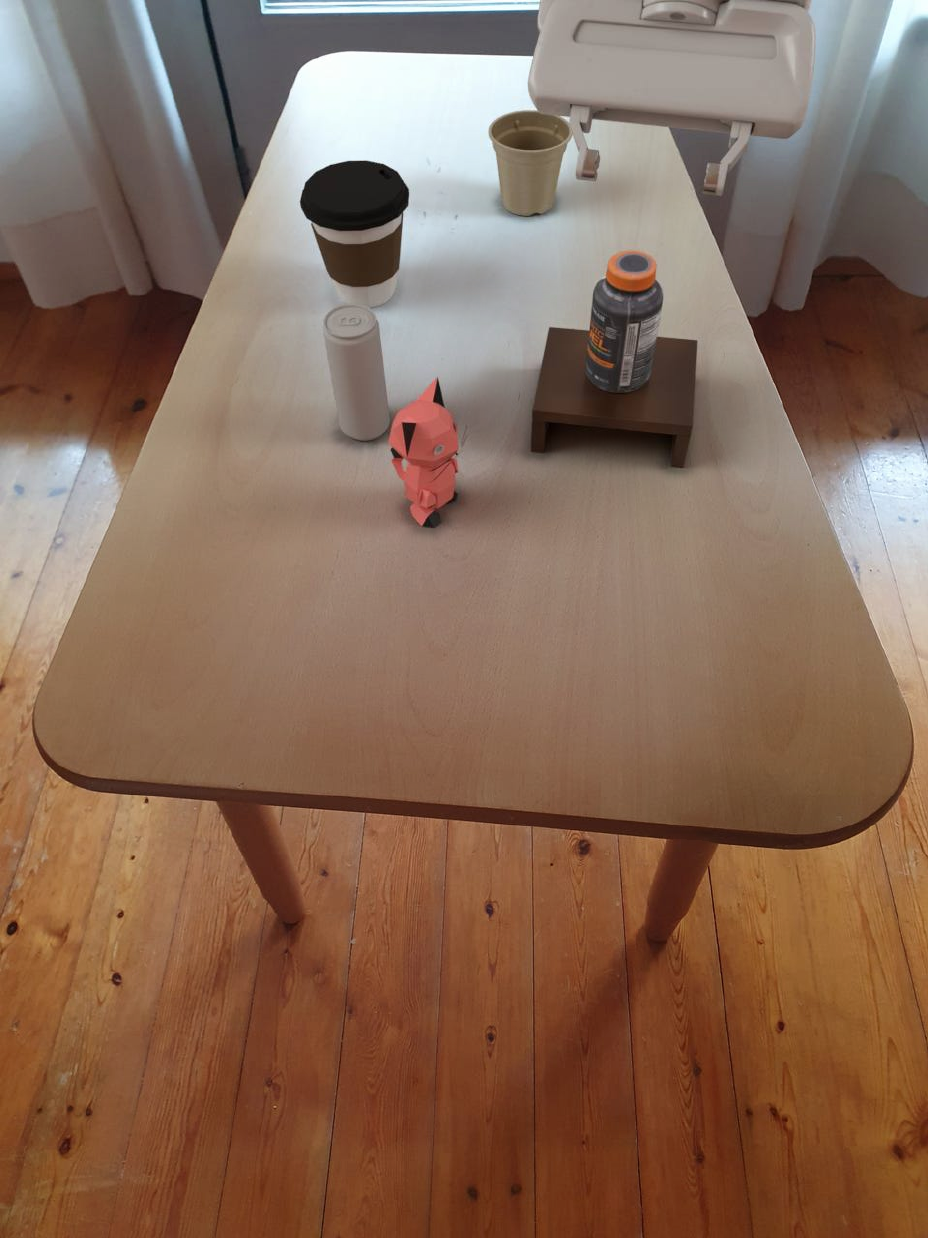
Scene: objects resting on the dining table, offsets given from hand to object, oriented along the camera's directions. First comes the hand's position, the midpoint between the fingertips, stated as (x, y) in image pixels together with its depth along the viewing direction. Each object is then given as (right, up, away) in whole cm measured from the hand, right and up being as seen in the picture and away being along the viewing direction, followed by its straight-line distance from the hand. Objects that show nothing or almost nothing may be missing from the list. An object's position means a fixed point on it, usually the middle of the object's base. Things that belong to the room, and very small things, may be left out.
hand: (648, 185), depth 70 cm
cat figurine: (-17, -22, +14) cm, 31 cm away
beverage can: (-23, -14, +20) cm, 34 cm away
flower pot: (-6, +17, +43) cm, 46 cm away
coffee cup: (-24, +3, +33) cm, 41 cm away
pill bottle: (0, -10, +16) cm, 19 cm away
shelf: (0, -13, +20) cm, 24 cm away
